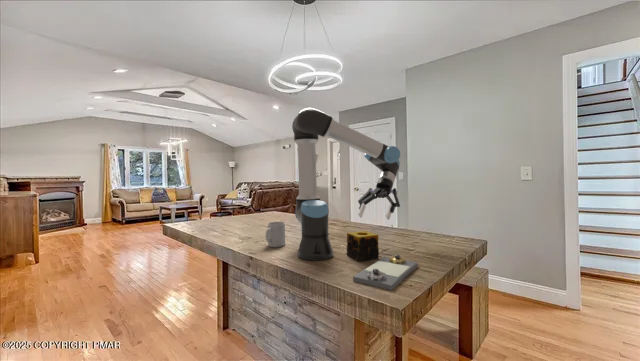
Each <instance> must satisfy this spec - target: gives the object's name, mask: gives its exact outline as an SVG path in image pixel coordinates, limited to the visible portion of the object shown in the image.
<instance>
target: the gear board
mask: <svg viewBox="0 0 640 361" xmlns="http://www.w3.org/2000/svg"><path fill="white" fill-rule="evenodd" d="M417 267H418V261H414V260H413V261H412V260H408V259H406V257H402V256H401V255H400V254H394V255H393V256H384V257H382V258H380V259H379V260H377V261H374V262H373V263H372V264H371V265H369V266H368V267H366V268H364V269H362V271H359V272H358V273H356V274H354V275H353V277H352V280H353V282H356V283H359V284H364V285H369V286H372V287H377V288H380V289H385V290H390V291H393V290H394V288H396V286H398V285H399V284H400V283H401V282H402V281H403V280H404V279H405V278H406V277H407V276H409V274H411V273H412V272H413V271H414V270H416V269H417Z"/></svg>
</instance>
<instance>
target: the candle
mask: <svg viewBox="0 0 640 361" xmlns="http://www.w3.org/2000/svg"><path fill="white" fill-rule="evenodd" d="M346 244H347V245H346V256H348V257H349V258H351V259H352V260H355V261H357V262H359V263H360V262H365V261H366V262H367V261H373V260H376V259H379V258H380V257H379V255H380V253H379V252H380V251H379V234H377V233H374V232H370V231H368V230H361V231H359V230H358V231H351V232H347V233H346Z"/></svg>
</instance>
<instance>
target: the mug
mask: <svg viewBox="0 0 640 361" xmlns="http://www.w3.org/2000/svg"><path fill="white" fill-rule="evenodd" d="M265 240H266V242H267V244H268V247H271V248H281V247H284V246H286V224H285V222H283V221H273V222H268V223H267V229H266V232H265Z"/></svg>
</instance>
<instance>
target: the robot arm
mask: <svg viewBox="0 0 640 361" xmlns="http://www.w3.org/2000/svg"><path fill="white" fill-rule="evenodd" d="M291 127H292V128H291V129H292V132H293V140H294V143H295V144H296V146H297V161H298V162H297V163H298V164H297V166H298V167H297V168H298V169H297V170H298V171H297V172H298V173H297V174H298V195H297V197H295V203H296V204H295V210H294V216H295V218H296V219H297V221H298V222H299V223H300V225H301V240H300V243H299V246H298V250H297V256H298V258H299V259H302V260H306V261H324V260H328V259H330V258H332V257H333V256H334V250H333V248H332V243H331V241H330V238H329V205H328V203H327V202H326V201H323V200H321V197H320V195H318V188H317V181H318V180H317V154H316V153H317V152H316V150H317V149H316V145H317V143H318V142H319V136H320V137H322V138H325V137H328V138H331V139H333V140H334V141H337V142H339V143H341V144H344V145H345V146H348V147H350V148H351V149H354V150H356V151H359V152H361V153H363V154H364V155H363V156H364V158H365V159H366V160H367V161H368V162H369V163H370V164H372V165H374V166H375V167H377V169H379V170H380V171H381V172H380V175H379V177H378V180H377V182H376V185H375V188H372V187H369V188H368V190H367V191H366V192H365V193H364V194H363V195H362V196H361V197H360V198H359V199H358V201H357V202H358V204H359V207H358V210H359V211H358V213H357V214H358V216H359V218H362V217H363V215H364V213H365V209H366V208H367V207H366V205H368V204H369V203H370V202H372V201H374V200H376V199H385V198H386V200H388V202H389V203H390V204H389V205H388V209H387V212H386V215H385V216H386V219H387V220H388V221H389V220H390V219H391V216H392V214H393V213H394V211H395V209H396V208H400V207H401V205H400V201H399V198H398V191H397V188H396V187H395V188H393V186H394V183H395V180H396V178H397V175H398V172H399V170H400V164H401V161H400V158H401V151H400V149H399V148H398V147H397V146H394V145H386V144H385V143H382V142H380V141H378V140H376V139H374V138H372V137H369V136H368V135H366V134H363V133H362V132H359V131H358V130H355V129H353V128H351V127H349V126H347V125H344V124H342V123H341V122H339V121H337V120H335V119H334V117H333V115H329V114H328V113H325V112H323V111H321V110H319V109H316V108H315V107H314V108H313V107H307V108H304V109H302V110H300V111H299V113H298V114H297V115H296V116H295V117H294V119H293V122H292V126H291ZM390 194H392V195H393V198H394V201H393V199H392V198H391V196H390Z"/></svg>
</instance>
